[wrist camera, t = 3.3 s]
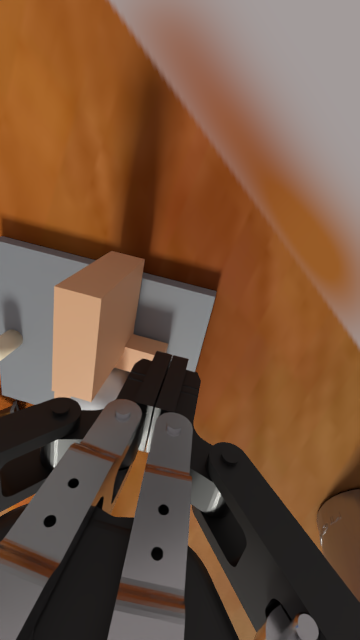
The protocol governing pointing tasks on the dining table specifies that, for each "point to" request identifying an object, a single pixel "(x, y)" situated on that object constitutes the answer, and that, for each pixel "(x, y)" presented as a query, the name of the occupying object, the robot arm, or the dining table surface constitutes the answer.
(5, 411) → the wooden post with brackets
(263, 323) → the dining table surface
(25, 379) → the post base
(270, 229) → the dining table surface
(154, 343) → the peach open lidded box
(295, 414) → the dining table surface
